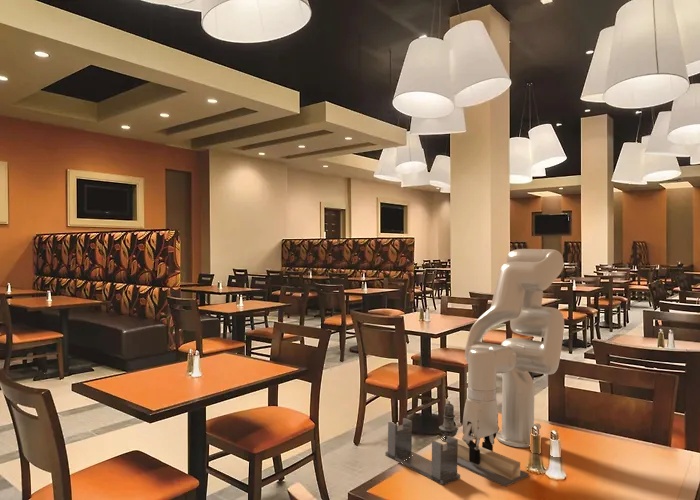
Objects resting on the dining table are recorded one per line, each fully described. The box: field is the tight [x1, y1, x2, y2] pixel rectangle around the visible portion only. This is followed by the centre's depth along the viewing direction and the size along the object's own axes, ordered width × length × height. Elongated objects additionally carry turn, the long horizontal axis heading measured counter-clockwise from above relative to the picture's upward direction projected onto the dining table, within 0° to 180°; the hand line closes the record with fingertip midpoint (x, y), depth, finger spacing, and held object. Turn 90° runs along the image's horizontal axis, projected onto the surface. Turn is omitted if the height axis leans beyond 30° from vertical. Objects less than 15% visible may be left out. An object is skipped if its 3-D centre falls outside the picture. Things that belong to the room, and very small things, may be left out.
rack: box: [384, 417, 461, 486], centre depth 136 cm, size 6×22×10 cm, turn 37°
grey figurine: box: [438, 400, 459, 443], centre depth 156 cm, size 6×6×12 cm
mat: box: [457, 457, 530, 487], centre depth 138 cm, size 10×23×1 cm, turn 37°
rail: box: [445, 435, 521, 480], centre depth 138 cm, size 4×22×4 cm, turn 37°
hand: (480, 459), depth 138 cm, fingers open, 4 cm apart
